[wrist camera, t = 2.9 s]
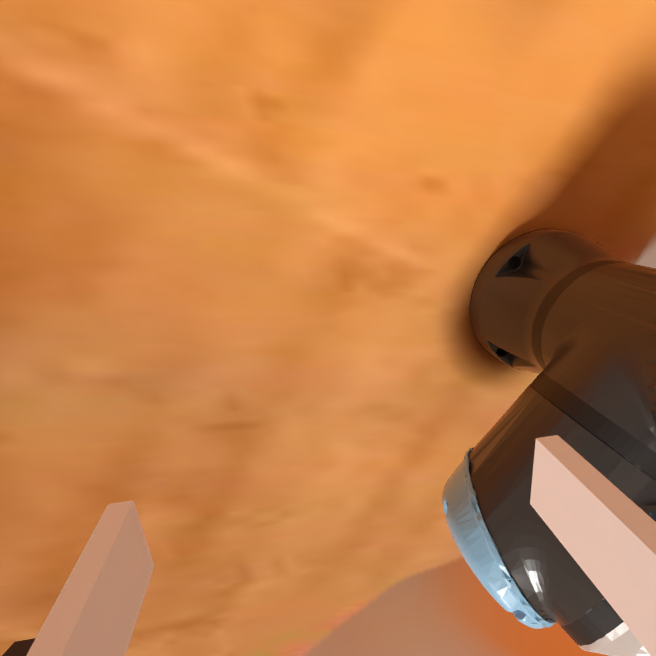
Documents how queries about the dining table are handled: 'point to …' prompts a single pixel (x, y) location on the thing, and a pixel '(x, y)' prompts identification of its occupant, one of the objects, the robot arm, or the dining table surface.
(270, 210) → the dining table surface
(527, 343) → the robot arm
